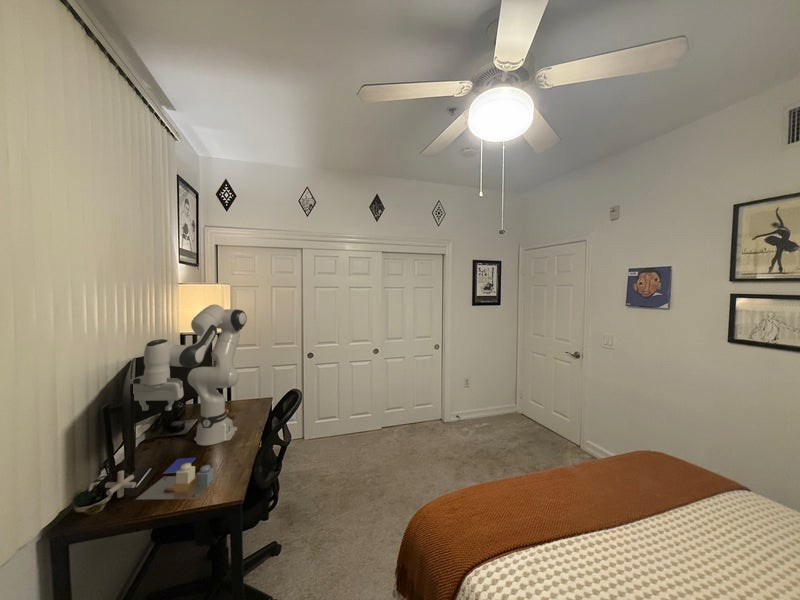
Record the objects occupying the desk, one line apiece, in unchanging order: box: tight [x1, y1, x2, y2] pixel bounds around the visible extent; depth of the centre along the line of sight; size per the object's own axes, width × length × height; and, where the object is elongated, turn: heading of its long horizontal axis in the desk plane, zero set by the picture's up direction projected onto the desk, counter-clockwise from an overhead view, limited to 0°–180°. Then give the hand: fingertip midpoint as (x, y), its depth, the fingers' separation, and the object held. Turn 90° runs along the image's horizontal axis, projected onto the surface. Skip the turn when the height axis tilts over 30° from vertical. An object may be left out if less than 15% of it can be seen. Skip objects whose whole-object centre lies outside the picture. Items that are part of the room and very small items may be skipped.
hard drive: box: [162, 457, 197, 475], centre depth 139 cm, size 2×8×12 cm
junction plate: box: [135, 475, 219, 500], centre depth 123 cm, size 15×22×1 cm
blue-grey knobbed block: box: [195, 464, 215, 485], centre depth 127 cm, size 4×4×6 cm
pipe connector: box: [104, 470, 137, 498], centre depth 117 cm, size 10×10×10 cm
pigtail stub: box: [164, 477, 197, 495], centre depth 121 cm, size 5×11×4 cm, turn 92°
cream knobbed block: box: [175, 463, 196, 484], centre depth 121 cm, size 4×4×6 cm
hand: (157, 410), depth 133 cm, fingers open, 8 cm apart
